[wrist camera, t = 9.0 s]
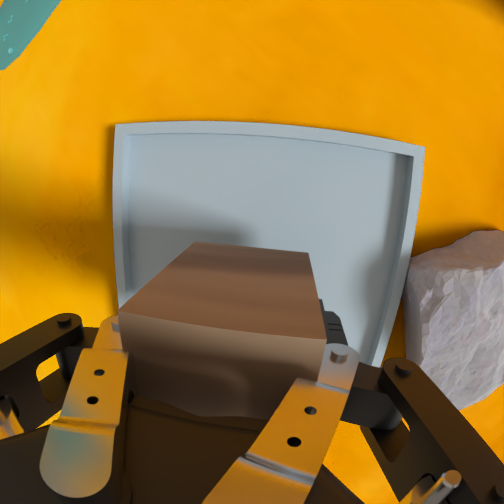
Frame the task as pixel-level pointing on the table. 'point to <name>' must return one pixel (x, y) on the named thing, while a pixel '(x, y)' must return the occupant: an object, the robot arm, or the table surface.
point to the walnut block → (225, 330)
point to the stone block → (458, 316)
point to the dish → (273, 208)
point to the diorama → (21, 25)
